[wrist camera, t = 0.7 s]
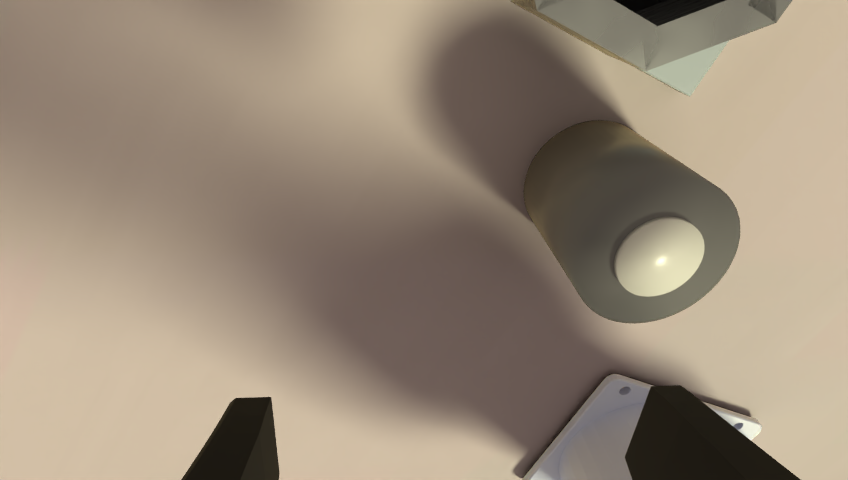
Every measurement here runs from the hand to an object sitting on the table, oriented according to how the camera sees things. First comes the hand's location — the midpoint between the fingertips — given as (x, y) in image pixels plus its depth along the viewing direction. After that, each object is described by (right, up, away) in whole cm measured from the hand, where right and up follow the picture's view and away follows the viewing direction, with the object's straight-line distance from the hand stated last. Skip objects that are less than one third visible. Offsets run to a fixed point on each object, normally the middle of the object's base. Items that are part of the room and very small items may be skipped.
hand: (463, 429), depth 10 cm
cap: (+5, +6, +9) cm, 11 cm away
